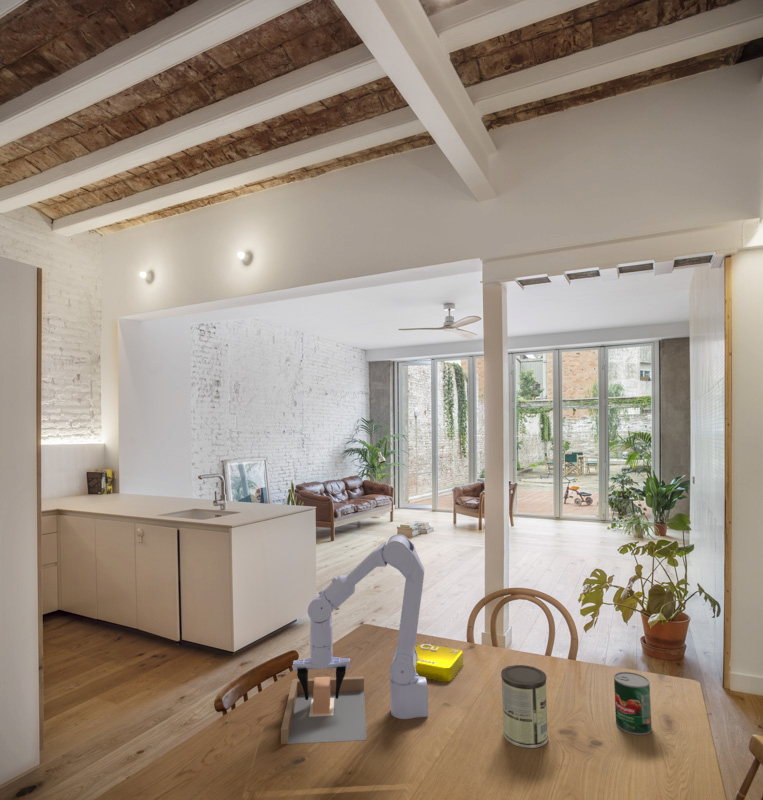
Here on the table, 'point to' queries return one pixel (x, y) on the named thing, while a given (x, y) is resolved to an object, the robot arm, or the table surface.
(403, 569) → the robot arm
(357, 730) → the arena
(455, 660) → the element tile
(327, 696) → the block
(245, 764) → the table surface
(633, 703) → the canned tomato
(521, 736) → the coffee can
